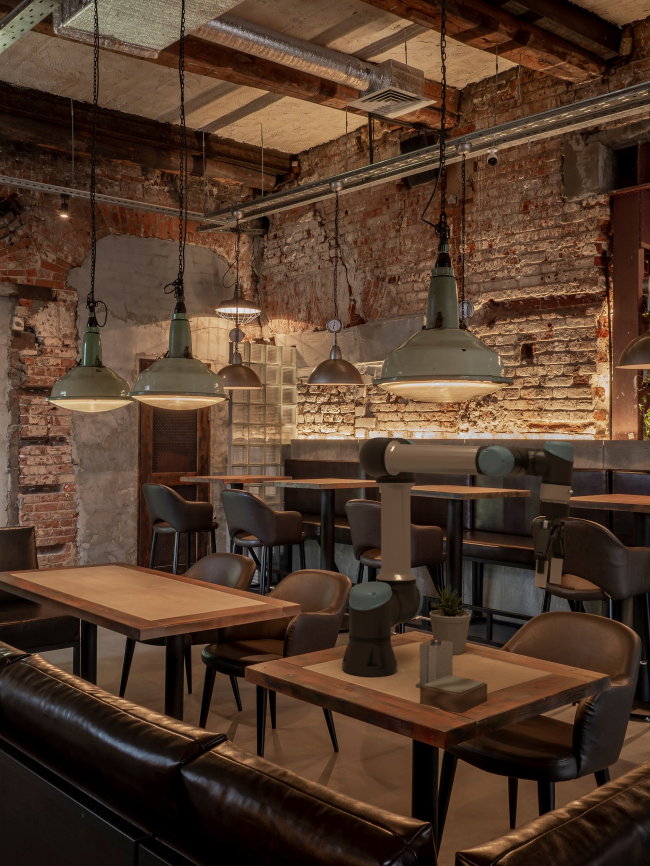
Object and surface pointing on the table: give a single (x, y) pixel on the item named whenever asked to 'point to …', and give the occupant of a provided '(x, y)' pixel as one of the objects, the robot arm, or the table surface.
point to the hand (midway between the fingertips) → (547, 585)
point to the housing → (435, 660)
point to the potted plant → (450, 621)
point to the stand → (453, 693)
